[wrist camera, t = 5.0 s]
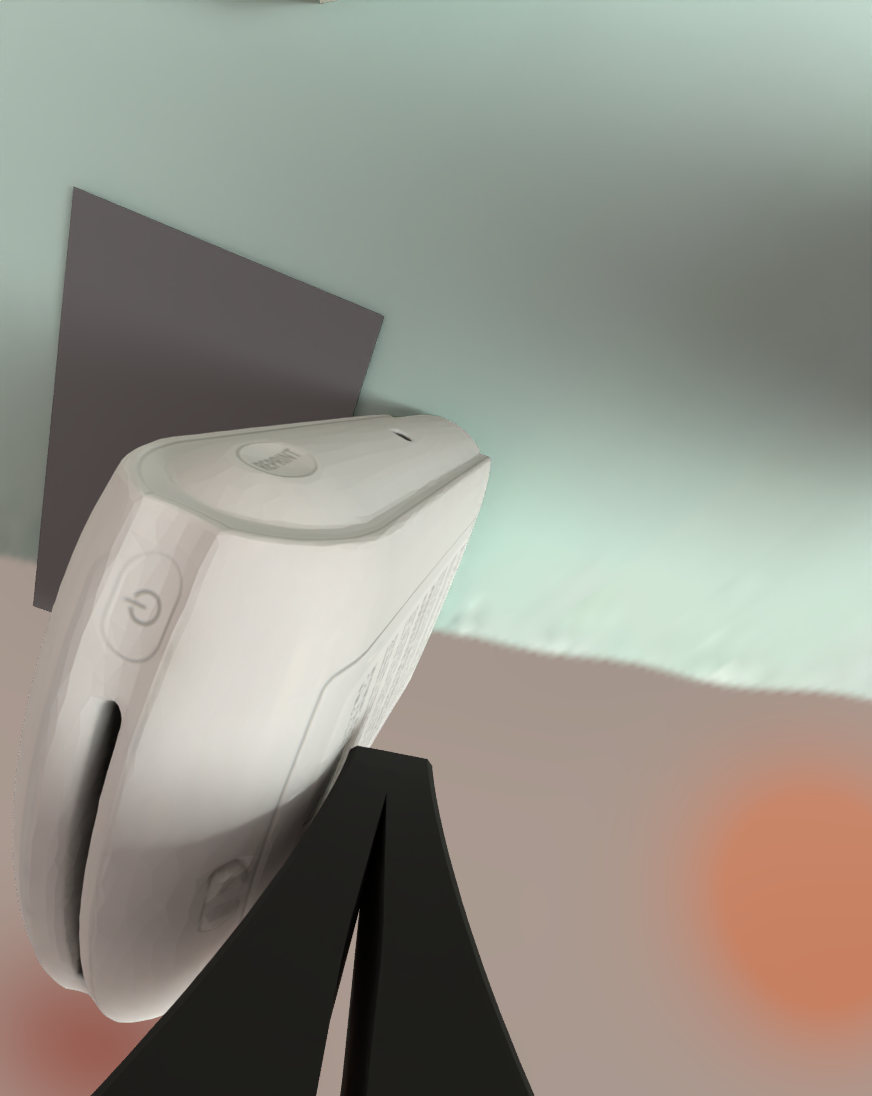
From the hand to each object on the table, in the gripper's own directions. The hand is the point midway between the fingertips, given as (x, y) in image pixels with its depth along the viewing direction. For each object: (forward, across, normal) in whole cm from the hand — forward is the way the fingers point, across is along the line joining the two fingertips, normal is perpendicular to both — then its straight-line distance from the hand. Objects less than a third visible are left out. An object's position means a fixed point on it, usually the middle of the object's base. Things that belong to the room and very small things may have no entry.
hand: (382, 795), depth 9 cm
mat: (+10, +8, -1) cm, 13 cm away
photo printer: (+10, +1, 0) cm, 10 cm away
